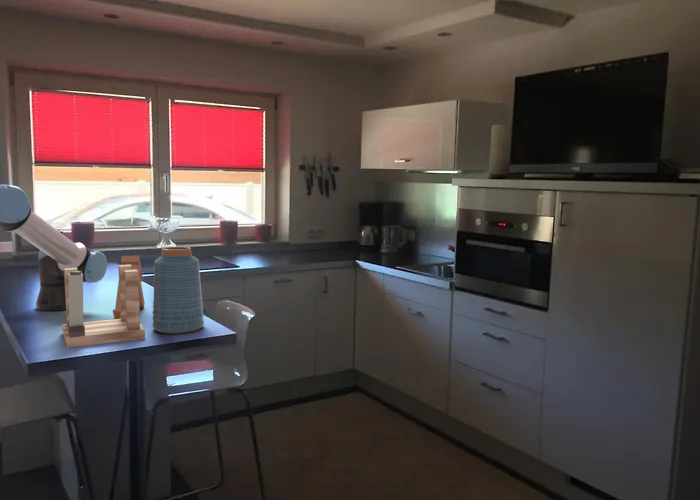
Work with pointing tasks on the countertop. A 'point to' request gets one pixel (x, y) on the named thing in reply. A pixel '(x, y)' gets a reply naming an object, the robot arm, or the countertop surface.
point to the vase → (177, 292)
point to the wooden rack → (109, 329)
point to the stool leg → (75, 298)
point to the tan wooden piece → (136, 265)
